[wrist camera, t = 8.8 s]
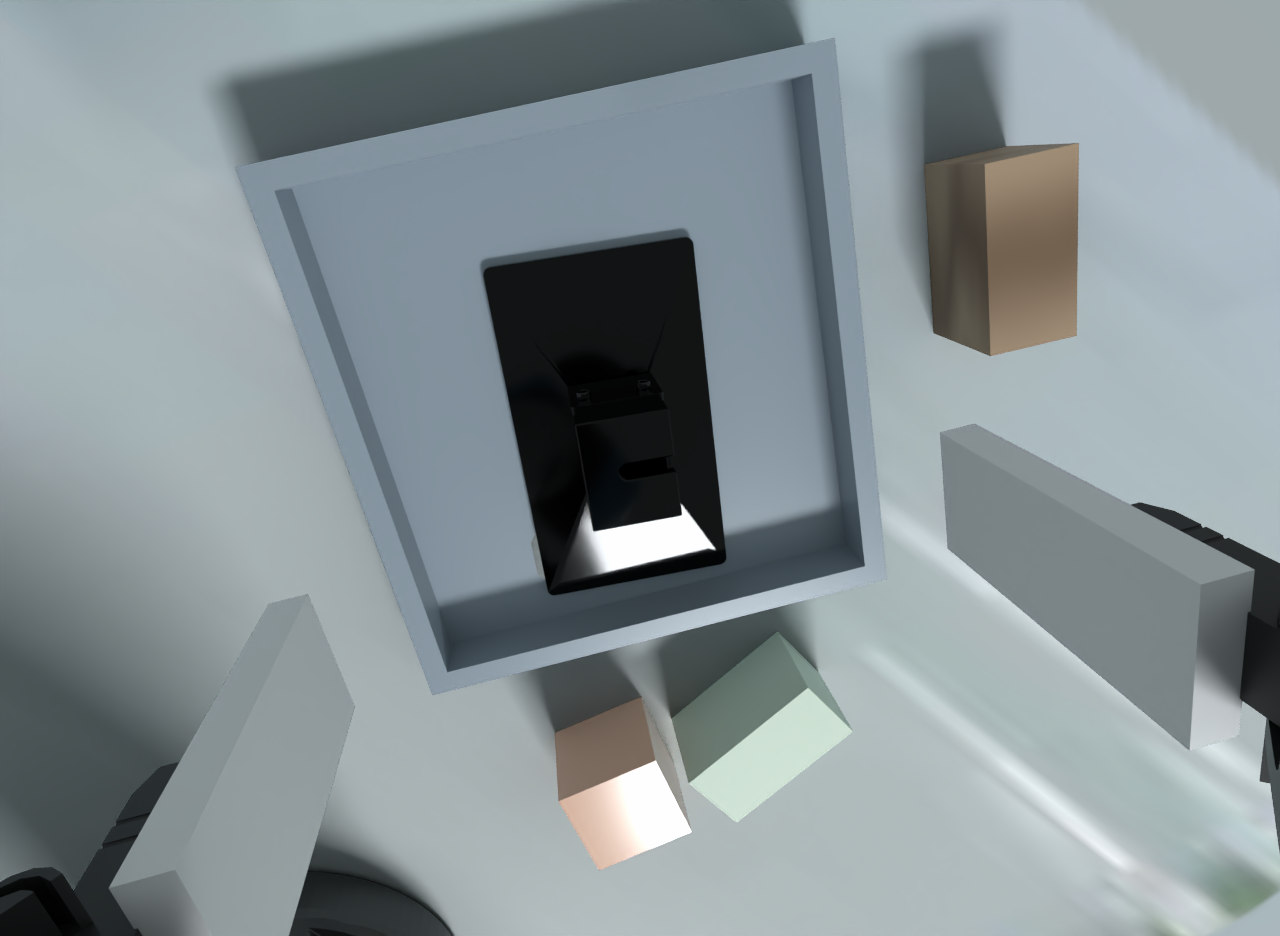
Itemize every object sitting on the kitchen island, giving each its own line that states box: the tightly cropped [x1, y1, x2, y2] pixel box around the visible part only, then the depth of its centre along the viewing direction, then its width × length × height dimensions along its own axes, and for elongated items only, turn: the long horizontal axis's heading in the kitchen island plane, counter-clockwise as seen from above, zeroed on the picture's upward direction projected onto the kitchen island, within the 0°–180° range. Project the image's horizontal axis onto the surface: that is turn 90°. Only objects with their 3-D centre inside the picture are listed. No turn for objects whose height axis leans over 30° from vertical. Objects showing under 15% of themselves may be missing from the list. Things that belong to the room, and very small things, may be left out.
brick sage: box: [672, 631, 853, 823], centre depth 33 cm, size 6×3×4 cm, turn 132°
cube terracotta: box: [555, 697, 692, 870], centre depth 33 cm, size 4×4×4 cm
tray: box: [235, 38, 887, 695], centre depth 27 cm, size 18×19×2 cm
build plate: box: [483, 237, 726, 596], centre depth 26 cm, size 12×7×5 cm, turn 8°
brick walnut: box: [924, 143, 1079, 356], centre depth 27 cm, size 6×3×4 cm, turn 12°
